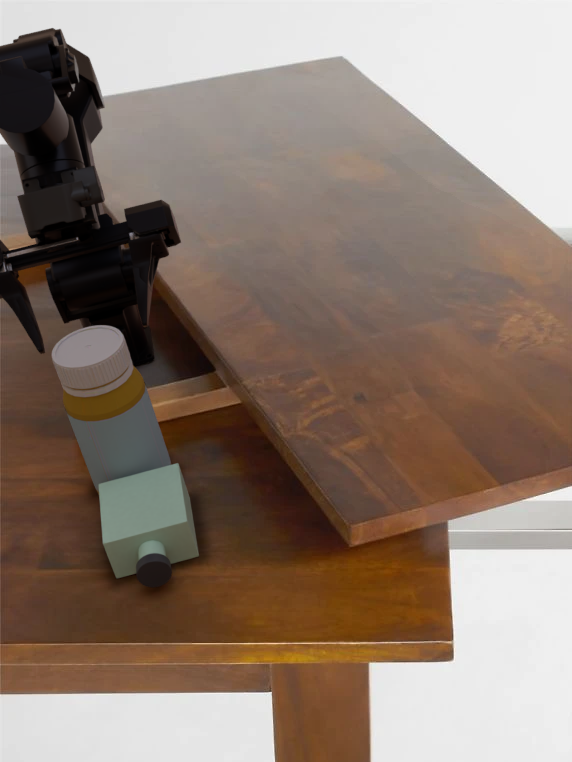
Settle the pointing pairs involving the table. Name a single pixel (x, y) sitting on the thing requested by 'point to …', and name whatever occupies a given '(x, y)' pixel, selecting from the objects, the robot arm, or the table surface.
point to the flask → (147, 524)
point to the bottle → (108, 405)
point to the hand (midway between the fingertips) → (93, 339)
